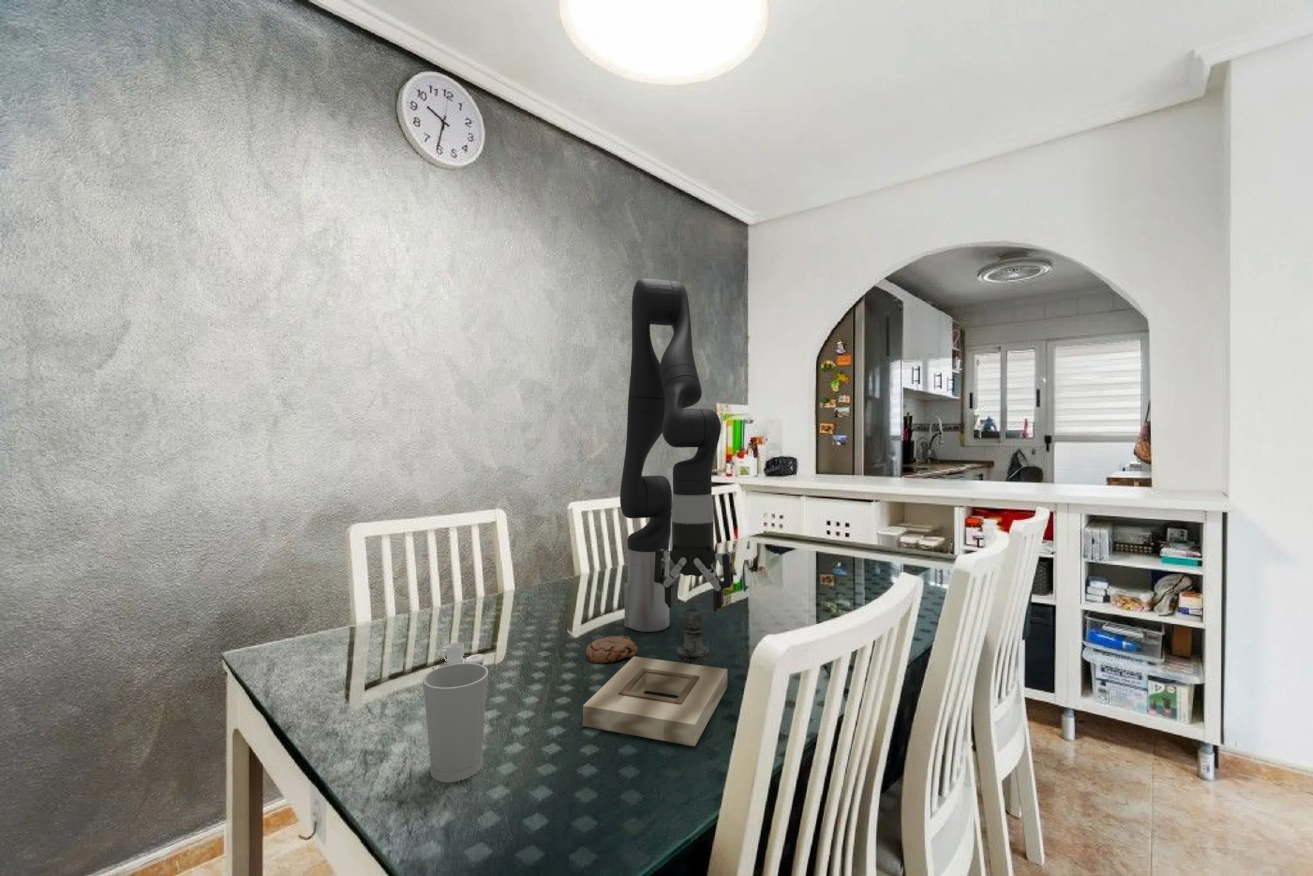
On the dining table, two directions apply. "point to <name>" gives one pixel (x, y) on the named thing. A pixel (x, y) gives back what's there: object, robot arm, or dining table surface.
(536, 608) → the dining table surface
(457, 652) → the teacup and saucer
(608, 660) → the cookie
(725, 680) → the birch frame
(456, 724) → the cup
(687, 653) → the dark grey tall piece
